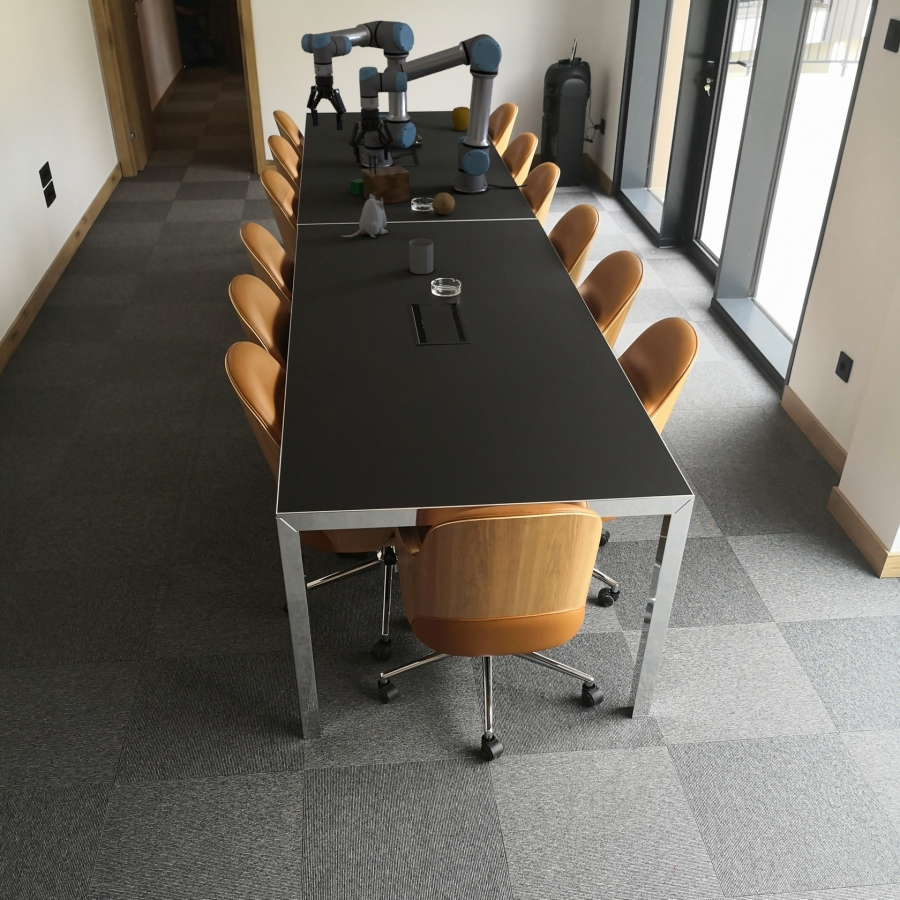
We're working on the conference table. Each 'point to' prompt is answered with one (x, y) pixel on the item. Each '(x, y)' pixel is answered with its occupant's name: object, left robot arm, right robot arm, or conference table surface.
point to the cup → (421, 256)
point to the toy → (372, 218)
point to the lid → (382, 169)
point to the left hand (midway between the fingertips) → (327, 128)
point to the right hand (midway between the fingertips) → (372, 161)
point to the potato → (443, 203)
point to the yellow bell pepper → (460, 118)
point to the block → (357, 187)
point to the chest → (387, 188)
